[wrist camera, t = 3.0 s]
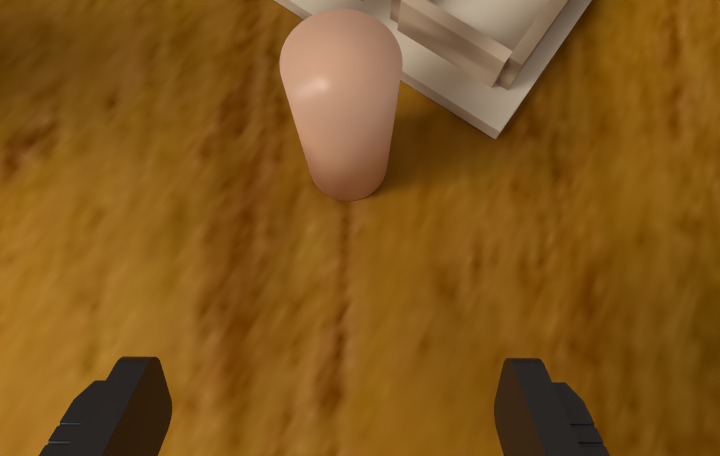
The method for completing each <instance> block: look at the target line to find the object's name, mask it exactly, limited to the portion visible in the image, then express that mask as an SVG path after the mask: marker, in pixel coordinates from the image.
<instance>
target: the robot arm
mask: <svg viewBox="0 0 720 456" xmlns="http://www.w3.org/2000/svg"><path fill="white" fill-rule="evenodd" d="M171 415H172V401H171V397H170V394H169V390H168V387H167V383H166V380H165V376H164V373H163V370H162V366H161V363H160V360H159V359H158V358H157V357H121V358H120V359H119V360H118V361H117V363H116V364H115V366H114V367H113V369H112V371H111V373H110V374H109V376H108V378H107V380H106V381H94V382H93V383H92V384H91V385H89V386H88V387H87V388H86V389H85V390H84V391H83V392H82V393H81V394H79V395H78V396H77V397H76V398H75V399H74V400H73V402H72V403H71V405H70V407H69V408H68V410H67V411H66V413H65V415H64V416H63V418H62V419H61V421H60V425H59V426H57V427H56V429H55V431H54V432H53V434H52V435H51V437H50V439H49V440H48V441H49V443H48V445H45V447H44V448H43V450H42V451H41V453H40V455H39V456H158V454H159V451H160V448H161V446H162V443H163V441H164V438H165V436H166V433H167V431H168V428H169V425H170V421H171ZM494 416H495V424H496V429H497V433H498V436H499V440H500V443H501V447H502V450H503V454H504V456H610V455H609V453H608V451H607V449H606V447H604V446H603V441H602V439H601V436H600V434H599V432H598V430H597V428H595V427H594V422H593V420H592V418H591V416H590V414H589V412H588V410H587V408H586V406H585V403H584V402H583V401H582V399H581V398H580V397H579V396H578V395H577V394H576V393H575V392H574V391H573V390H572V389H571V388H570V387H569V386H568V385H567V384H566V383H552V382H551V379H550V377H549V375H548V372H547V370H546V368H545V365H544V363H543V362H542V361H541V360H540V359H537V358H507V359H505V361H504V364H503V368H502V372H501V377H500V381H499V385H498V389H497V394H496V398H495V404H494Z"/></svg>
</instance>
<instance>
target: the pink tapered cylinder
mask: <svg viewBox="0 0 720 456" xmlns="http://www.w3.org/2000/svg"><path fill="white" fill-rule="evenodd" d="M402 68H403V59H402V52H401V49H400V46H399V44H398V41H397V39H396V38H395V36H394V34H393V33H392V32H391V31H390V29H389V28H388V27H387V26H386V25H385V24H383V23H382V22H381V21H379V20H378V19H377V18H375V17H373V16H371V15H369V14H366V13H364V12H361V11H357V10H351V9H332V10H327V11H323V12H320V13H317V14H314V15H312V16H310V17H308V18H307V19H305V20H304V21H302V22H301V23H300V24H299V25H297V26H296V27H295V28H294V29H293V30H292V32H291V33H290V34H289V36H288V37H287V39H286V41H285V43H284V45H283V48H282V51H281V55H280V73H281V78H282V81H283V85H284V88H285V91H286V95H287V98H288V101H289V105H290V108H291V111H292V115H293V118H294V121H295V125H296V128H297V131H298V135H299V138H300V141H301V145H302V148H303V152H304V155H305V158H306V162H307V165H308V168H309V172H310V175H311V178H312V180H313V182H314V184H315V185H316V186H317V188H318V189H319V190H320V191H321V192H323V193H324V194H325V195H327V196H329V197H331V198H333V199H336V200H341V201H355V200H360V199H362V198H365V197H367V196H369V195H370V194H372V193H373V192H374V191H375V190H376V189H377V188H378V187H379V186H380V185H381V183H382V182H383V180H384V177H385V175H386V171H387V164H388V158H389V151H390V145H391V139H392V132H393V126H394V119H395V113H396V106H397V100H398V93H399V87H400V80H401V74H402Z"/></svg>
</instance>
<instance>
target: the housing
mask: <svg viewBox="0 0 720 456" xmlns="http://www.w3.org/2000/svg"><path fill="white" fill-rule="evenodd" d="M274 1H275V2H277V3H279V4H280V5H282V6H283V7H285V8H287V9H288V10H290V11H291V12H293V13H295V14H296V15H298V16H299V17H301V18H302V19H304V20H305V19H307V18H308V17H310V16H312V15H314V14H317V13H320V12H323V11H327V10H332V9H351V10H357V11H361V12H364V13H366V14H369V15H371V16H373V17H375V18H377V19H378V20H379V21H381V22H382V23H383V24H385V25H386V26H387V27H388V28H389V29H390V31H391V32H392V33H393V34H394V36H395V38H396V39H397V41H398V44H399V46H400V49H401V52H402V59H403V68H402V74H401V81H403V82H404V83H406V84H407V85H409V86H411V87H412V88H414V89H415V90H417V91H419V92H420V93H422V94H423V95H425V96H426V97H428V98H430V99H431V100H433V101H434V102H436V103H438V104H439V105H441V106H442V107H444V108H446V109H447V110H449V111H450V112H452V113H454V114H455V115H457V116H458V117H460V118H461V119H463V120H465V121H466V122H468V123H469V124H471V125H473V126H474V127H476V128H477V129H479V130H481V131H482V132H484V133H485V134H487V135H488V136H490V137H492V138H493V139H495V140H496V138H497V137H498V135H499V134H500V132H501V131H502V129H503V128H504V127H505V125H506V124H507V122H508V121H509V119H510V118H511V116H512V115H513V114H514V112H515V111H516V109H517V108H518V106H519V105H520V103H521V102H522V100H523V99H524V98H525V96H526V95H527V93H528V92H529V90H530V89H531V87H532V86H533V85H534V83H535V82H536V80H537V79H538V77H539V76H540V74H541V73H542V72H543V70H544V69H545V67H546V66H547V64H548V63H549V61H550V60H551V59H552V57H553V56H554V54H555V53H556V51H557V50H558V48H559V47H560V46H561V44H562V43H563V41H564V40H565V38H566V37H567V35H568V34H569V32H570V31H571V30H572V28H573V27H574V25H575V24H576V22H577V21H578V19H579V18H580V17H581V15H582V14H583V12H584V11H585V9H586V8H587V6H588V5H589V4H590V2H591V1H592V0H274Z"/></svg>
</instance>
